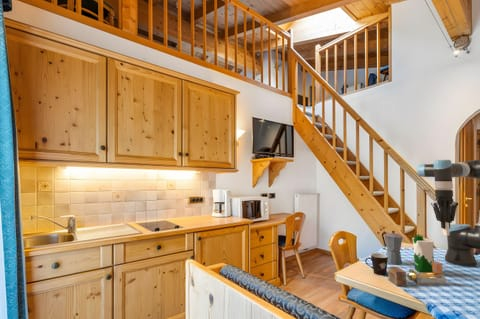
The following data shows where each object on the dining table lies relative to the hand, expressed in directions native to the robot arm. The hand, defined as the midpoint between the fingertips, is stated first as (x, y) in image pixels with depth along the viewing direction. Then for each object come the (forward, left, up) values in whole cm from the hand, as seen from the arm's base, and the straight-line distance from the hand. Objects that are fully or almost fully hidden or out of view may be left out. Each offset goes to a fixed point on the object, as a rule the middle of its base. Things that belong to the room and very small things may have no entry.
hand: (446, 234), depth 141 cm
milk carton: (+3, -14, -24) cm, 28 cm away
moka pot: (+12, -30, -24) cm, 40 cm away
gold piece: (+12, 0, -23) cm, 26 cm away
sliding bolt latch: (+11, 0, -24) cm, 26 cm away
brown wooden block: (+26, 0, -24) cm, 36 cm away
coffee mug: (+30, -14, -24) cm, 41 cm away
